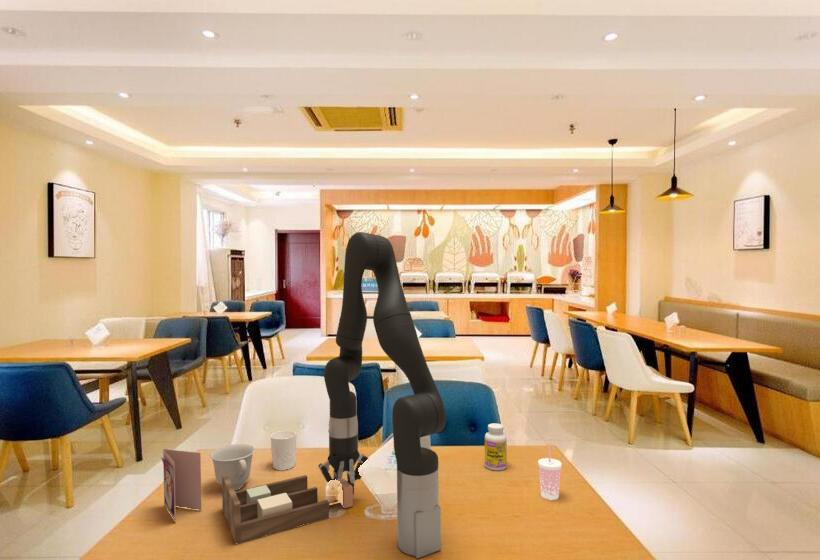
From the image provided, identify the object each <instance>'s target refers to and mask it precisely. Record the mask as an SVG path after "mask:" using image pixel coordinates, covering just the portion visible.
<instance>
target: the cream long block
mask: <svg viewBox="0 0 820 560" xmlns="http://www.w3.org/2000/svg"><path fill="white" fill-rule="evenodd" d="M347 481H348V480H346V479H345V477H342V478H341V484H342V490H343V506H344V508H343V509H348V508H351V507H353V506H354V494H353V487H352V486H351V485H350V484H349V483H348V482H347ZM343 506H342V507H343ZM291 509H292V501H291V499H290V498H289V497H288V495H287V494H286V493H282V494H278V495H274V496H270V497H266V498H262V499H258V500H257V518H261V517H264V516H268V515H272V514H276V513H279V512H283V511H287V510H291Z"/></svg>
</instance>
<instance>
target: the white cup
mask: <svg viewBox="0 0 820 560" xmlns="http://www.w3.org/2000/svg"><path fill="white" fill-rule="evenodd" d="M297 437H298V436H297V432H296V431H294V430H279V431H275V432H273V433H271V434H270V447H271V448H270V449H271V459H272V468H273V469H274V468H275V469H277V470H276V471H287V470H286V469H288V470H291V469H293V468H294V467H295V466H296V456H297V455H296V454H297ZM292 467H293V468H292ZM290 468H291V469H290ZM275 469H274V470H275Z"/></svg>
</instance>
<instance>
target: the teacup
mask: <svg viewBox="0 0 820 560" xmlns="http://www.w3.org/2000/svg"><path fill="white" fill-rule="evenodd" d="M255 451H256V448H255V447H254V446H253V445H250V444H244V443H243V444H242V443H240V444H239V443H238V444H237V443H236V444H229V445H225V446H221V447H219V448H216V449H215V450H213V451H212V452H211V453H210V454H209V458H210V459H211V460H212V464H213V469H214V475H215V479H216V482H217V483H218V484H219V485H221V486H222V475H224V474H227V475H228V477H229V480H230V482H231V484H232V486H233V488H234V490H235V491H237V490H236V489H238V490H240V489H239V488H241V487H242V488H244V486H245V482H246V481H247V480H248V479H249V477H250V474H251V471H252V459H253V454H254V453H255ZM243 485H244V486H243ZM242 488H241V489H242Z"/></svg>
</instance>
